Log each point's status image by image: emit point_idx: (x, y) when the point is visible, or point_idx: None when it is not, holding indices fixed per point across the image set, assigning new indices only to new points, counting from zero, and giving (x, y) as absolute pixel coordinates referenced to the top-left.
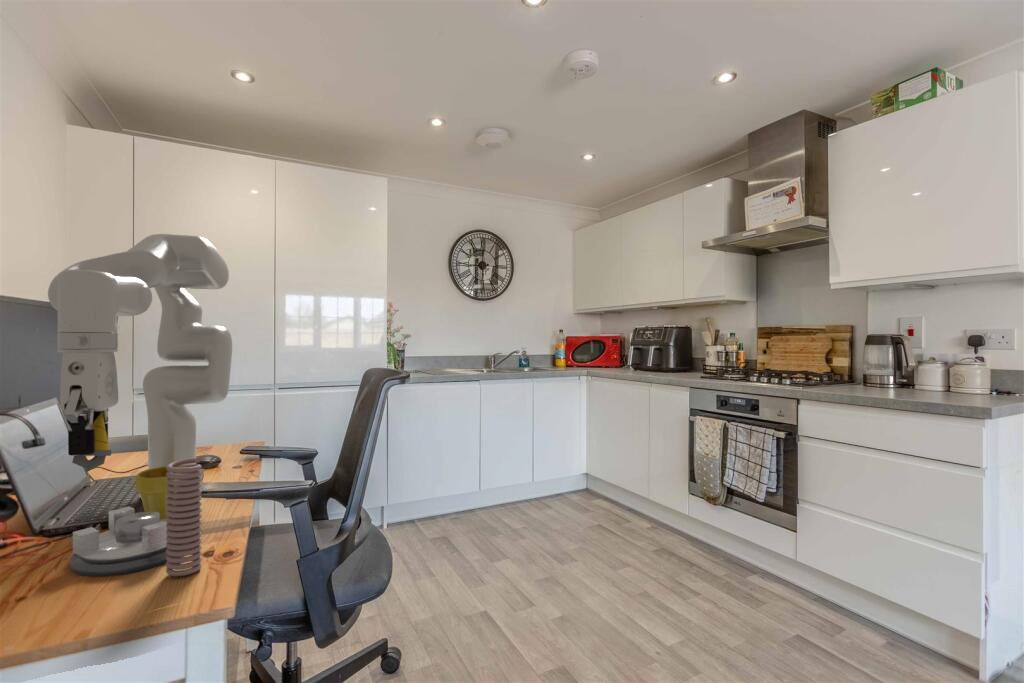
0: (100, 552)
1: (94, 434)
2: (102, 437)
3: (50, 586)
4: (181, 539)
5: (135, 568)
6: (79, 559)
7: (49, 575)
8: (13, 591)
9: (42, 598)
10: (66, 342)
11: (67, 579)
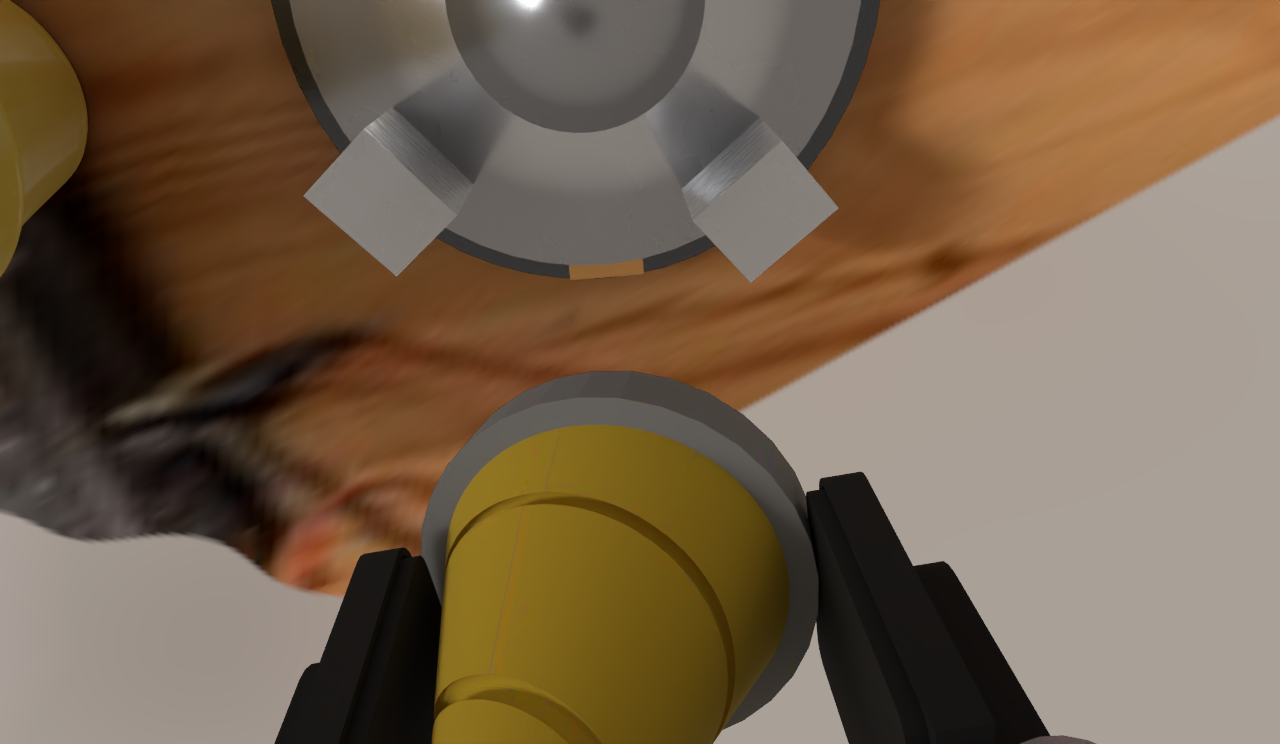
0: (796, 91)
1: (911, 651)
2: (646, 592)
3: (867, 217)
4: None
5: None
6: None
7: (743, 286)
8: (859, 332)
9: (981, 181)
10: None
11: None
